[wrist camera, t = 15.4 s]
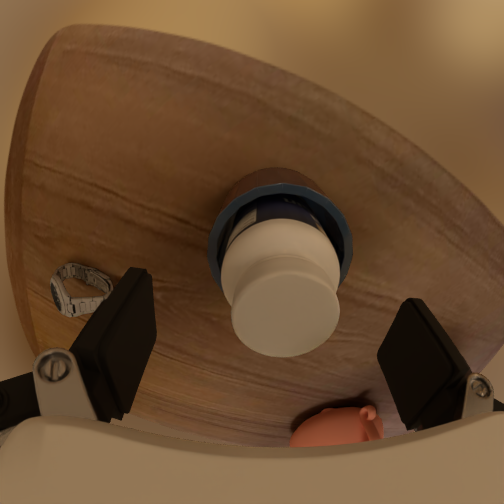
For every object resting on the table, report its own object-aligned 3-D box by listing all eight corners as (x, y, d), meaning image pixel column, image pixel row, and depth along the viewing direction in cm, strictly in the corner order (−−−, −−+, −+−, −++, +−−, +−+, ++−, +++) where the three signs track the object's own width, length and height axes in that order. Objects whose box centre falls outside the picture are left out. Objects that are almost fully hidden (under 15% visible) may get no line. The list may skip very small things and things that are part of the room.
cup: (227, 160, 17) (213, 173, 12) (339, 178, 18) (368, 198, 13) (216, 262, 21) (204, 307, 16) (316, 275, 21) (331, 321, 16)
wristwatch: (65, 250, 21) (33, 278, 16) (123, 270, 21) (95, 304, 17) (68, 282, 22) (40, 312, 18) (122, 302, 23) (99, 338, 18)
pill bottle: (330, 217, 18) (387, 303, 9) (282, 275, 20) (295, 384, 11) (264, 169, 17) (270, 220, 8) (218, 235, 19) (185, 332, 10)
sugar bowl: (274, 436, 33) (275, 499, 23) (324, 383, 27) (338, 466, 17) (345, 441, 34) (355, 495, 25) (402, 391, 28) (426, 455, 19)
